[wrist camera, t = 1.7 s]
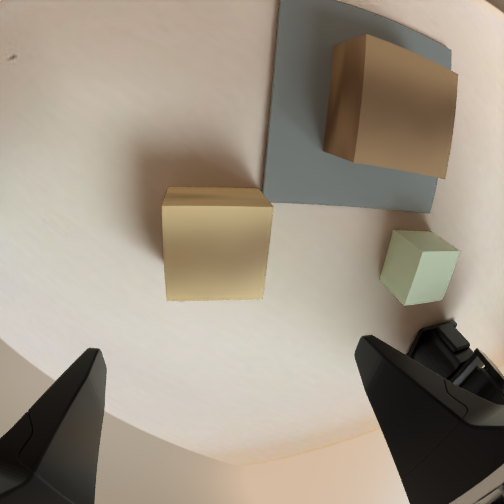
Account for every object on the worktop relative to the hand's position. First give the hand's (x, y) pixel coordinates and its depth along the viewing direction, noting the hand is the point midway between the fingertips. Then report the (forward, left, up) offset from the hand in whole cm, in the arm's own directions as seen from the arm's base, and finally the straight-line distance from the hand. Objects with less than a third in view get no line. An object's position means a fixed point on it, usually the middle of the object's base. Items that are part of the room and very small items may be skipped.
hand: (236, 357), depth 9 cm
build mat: (+9, -10, -11) cm, 17 cm away
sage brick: (-2, -16, -11) cm, 20 cm away
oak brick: (0, 0, -11) cm, 11 cm away
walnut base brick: (+9, -10, -11) cm, 17 cm away
